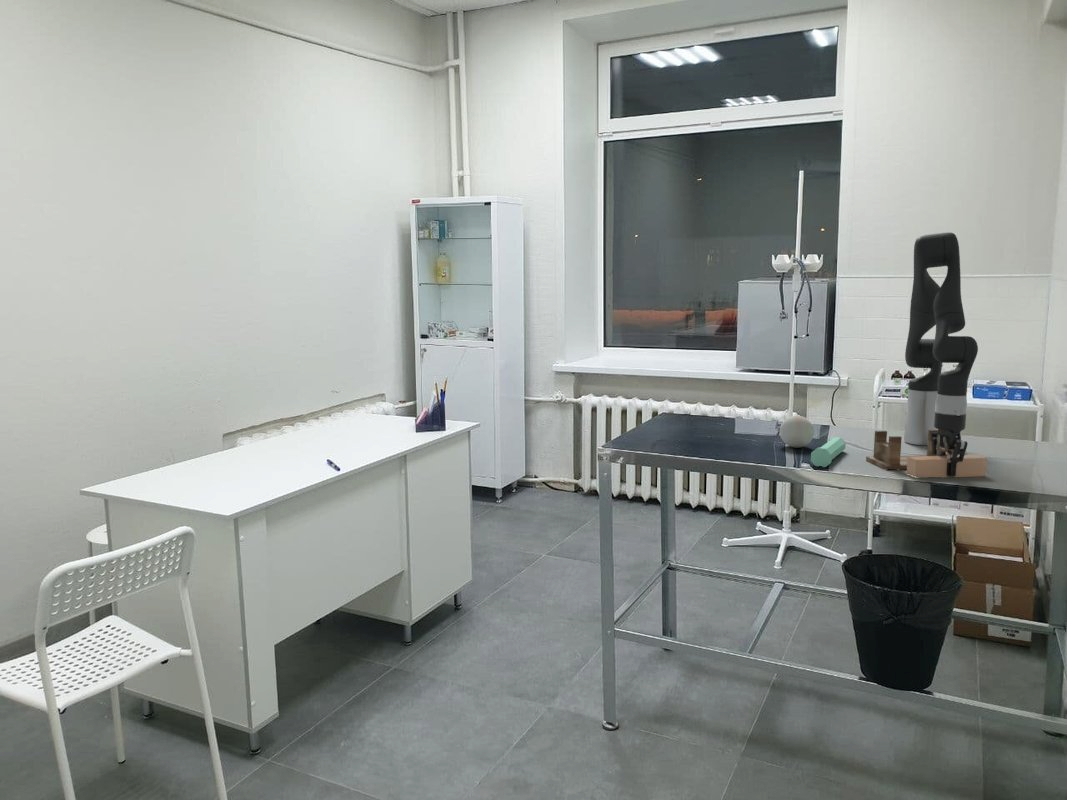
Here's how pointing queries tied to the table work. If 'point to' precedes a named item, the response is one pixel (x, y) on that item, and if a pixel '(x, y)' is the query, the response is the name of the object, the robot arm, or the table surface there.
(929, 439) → the rack
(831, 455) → the mint green octagonal prism
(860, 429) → the table surface
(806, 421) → the grey ball
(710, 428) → the table surface
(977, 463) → the tan rectangular block
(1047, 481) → the table surface
